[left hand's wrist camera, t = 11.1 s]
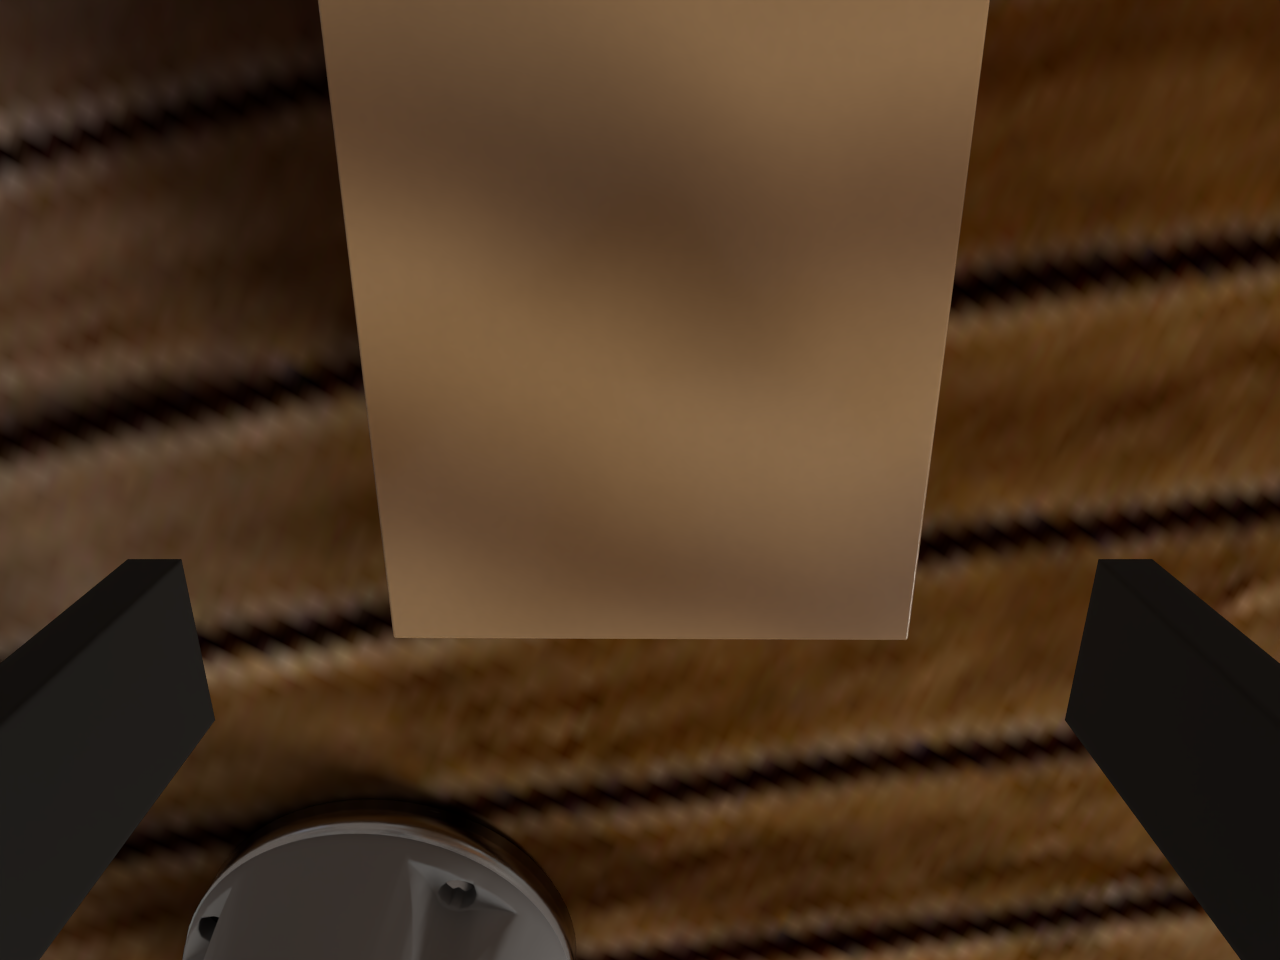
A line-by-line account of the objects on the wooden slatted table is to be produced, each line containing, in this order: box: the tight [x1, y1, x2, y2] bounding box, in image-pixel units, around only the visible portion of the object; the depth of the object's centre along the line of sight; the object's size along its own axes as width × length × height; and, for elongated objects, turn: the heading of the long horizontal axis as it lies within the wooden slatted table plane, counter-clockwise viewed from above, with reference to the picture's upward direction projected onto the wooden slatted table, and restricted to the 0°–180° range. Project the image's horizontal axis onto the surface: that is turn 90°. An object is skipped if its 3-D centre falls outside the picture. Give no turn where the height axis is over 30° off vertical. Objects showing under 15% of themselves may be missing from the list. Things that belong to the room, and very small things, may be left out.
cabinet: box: [318, 0, 990, 640], centre depth 20 cm, size 19×11×11 cm, turn 0°
